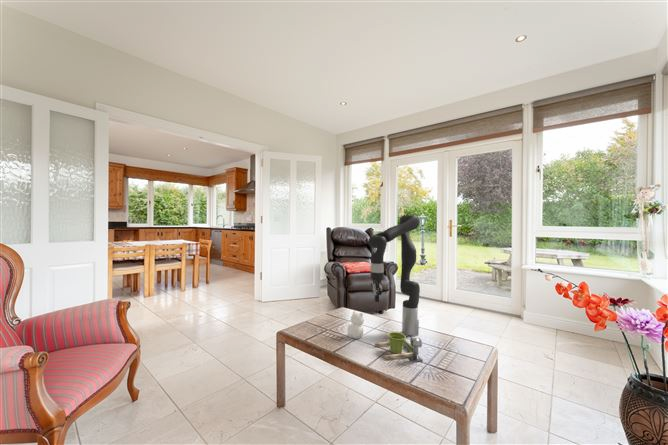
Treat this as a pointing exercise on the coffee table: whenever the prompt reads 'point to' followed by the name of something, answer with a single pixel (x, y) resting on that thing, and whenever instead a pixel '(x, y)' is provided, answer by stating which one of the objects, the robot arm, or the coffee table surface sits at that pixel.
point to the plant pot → (396, 342)
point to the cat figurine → (356, 325)
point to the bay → (397, 356)
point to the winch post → (415, 348)
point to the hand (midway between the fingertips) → (376, 301)
